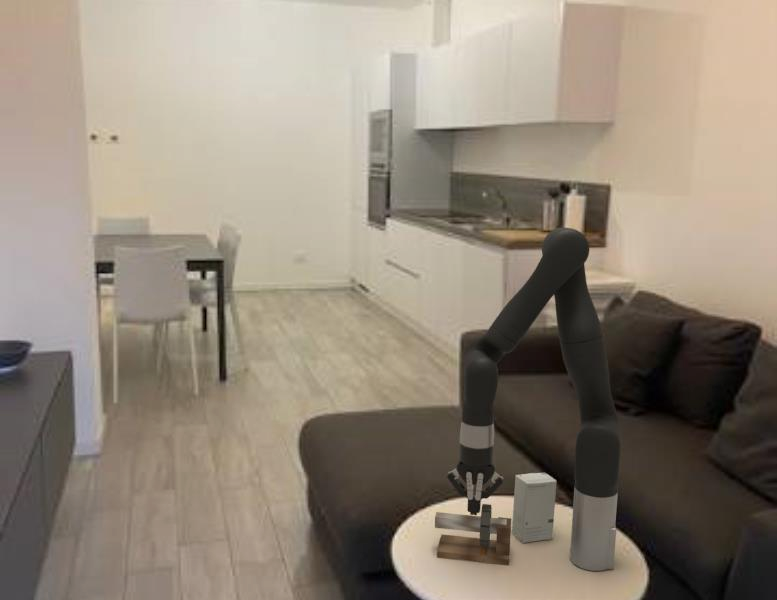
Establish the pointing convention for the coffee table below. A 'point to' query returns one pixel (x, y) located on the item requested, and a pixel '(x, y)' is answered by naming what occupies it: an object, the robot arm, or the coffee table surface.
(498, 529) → the pipe stand
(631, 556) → the coffee table surface
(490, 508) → the o ring
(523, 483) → the skincare box
